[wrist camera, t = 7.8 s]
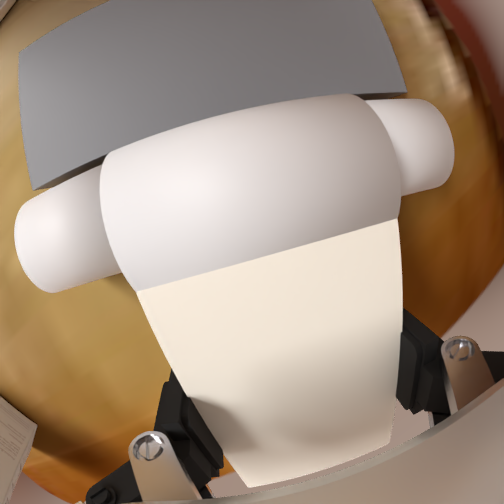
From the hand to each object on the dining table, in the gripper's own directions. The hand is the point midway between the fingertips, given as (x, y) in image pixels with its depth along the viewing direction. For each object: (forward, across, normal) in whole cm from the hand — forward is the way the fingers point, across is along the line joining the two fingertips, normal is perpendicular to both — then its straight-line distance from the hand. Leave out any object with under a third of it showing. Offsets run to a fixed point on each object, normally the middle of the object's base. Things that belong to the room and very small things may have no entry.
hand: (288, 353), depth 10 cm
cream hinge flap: (+1, 0, -2) cm, 2 cm away
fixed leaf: (+4, 0, -11) cm, 12 cm away
